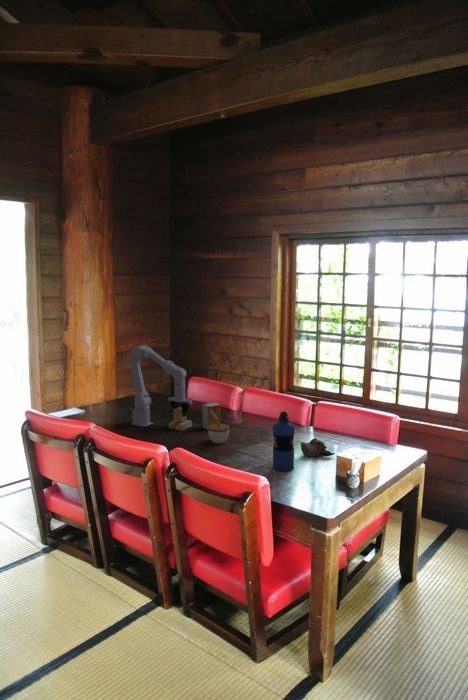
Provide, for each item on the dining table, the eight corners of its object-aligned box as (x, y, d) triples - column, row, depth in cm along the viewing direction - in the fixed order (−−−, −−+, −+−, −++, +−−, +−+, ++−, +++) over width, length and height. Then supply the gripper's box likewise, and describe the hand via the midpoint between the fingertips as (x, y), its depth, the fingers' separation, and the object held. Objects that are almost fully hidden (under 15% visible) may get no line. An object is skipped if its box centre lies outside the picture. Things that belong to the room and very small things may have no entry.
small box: (208, 430, 283) (208, 406, 281) (202, 427, 288) (202, 404, 286) (221, 427, 287) (220, 404, 285) (215, 425, 292) (214, 402, 290)
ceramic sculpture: (297, 435, 246) (327, 434, 250) (295, 452, 248) (325, 452, 251) (305, 442, 236) (336, 441, 240) (304, 461, 237) (334, 460, 241)
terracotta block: (173, 420, 286) (173, 409, 285) (179, 417, 291) (178, 407, 290) (181, 421, 284) (180, 410, 283) (186, 419, 288) (186, 408, 287)
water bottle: (292, 464, 234) (293, 409, 230) (295, 472, 224) (296, 414, 221) (271, 464, 233) (271, 409, 230) (273, 472, 224) (274, 415, 220)
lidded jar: (224, 446, 257) (224, 427, 256) (204, 443, 261) (204, 425, 260) (232, 439, 267) (232, 421, 266) (213, 437, 271) (212, 419, 270)
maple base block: (168, 428, 287) (168, 422, 286) (178, 424, 294) (178, 418, 294) (182, 431, 282) (182, 425, 282) (192, 427, 290) (192, 421, 289)
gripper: (164, 390, 286) (165, 415, 288) (186, 394, 278) (186, 419, 280) (172, 388, 292) (173, 412, 294) (194, 391, 284) (194, 416, 286)
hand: (180, 415), depth 287 cm, fingers closed on terracotta block, 5 cm apart
